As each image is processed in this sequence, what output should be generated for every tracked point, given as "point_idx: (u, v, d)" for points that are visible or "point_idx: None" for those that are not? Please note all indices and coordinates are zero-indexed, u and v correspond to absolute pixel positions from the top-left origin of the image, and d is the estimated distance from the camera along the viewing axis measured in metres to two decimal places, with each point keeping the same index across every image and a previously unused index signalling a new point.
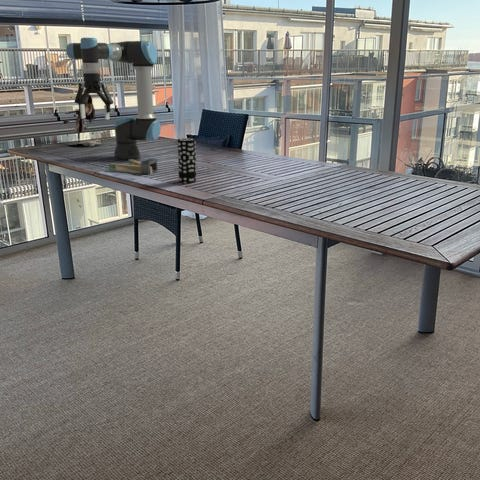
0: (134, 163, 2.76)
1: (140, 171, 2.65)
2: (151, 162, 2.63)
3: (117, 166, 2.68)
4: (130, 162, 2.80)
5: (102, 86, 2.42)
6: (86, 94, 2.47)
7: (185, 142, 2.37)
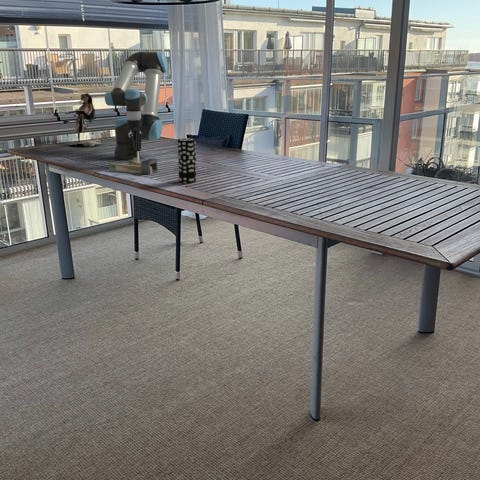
0: (134, 163, 2.76)
1: (140, 171, 2.65)
2: (151, 162, 2.63)
3: (117, 166, 2.68)
4: (130, 162, 2.80)
5: None
6: None
7: (185, 142, 2.37)
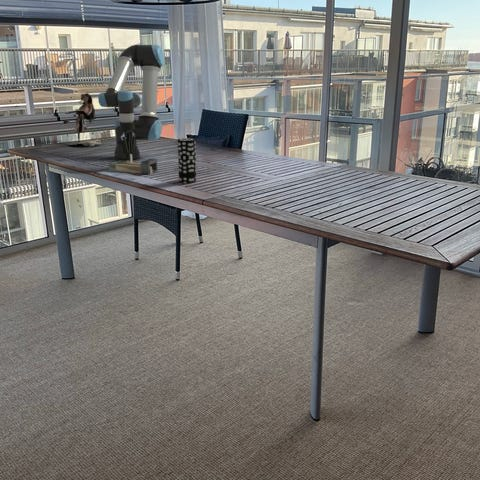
0: (127, 164, 2.73)
1: (140, 171, 2.65)
2: (151, 162, 2.63)
3: (117, 166, 2.68)
4: None
5: None
6: None
7: (185, 142, 2.37)
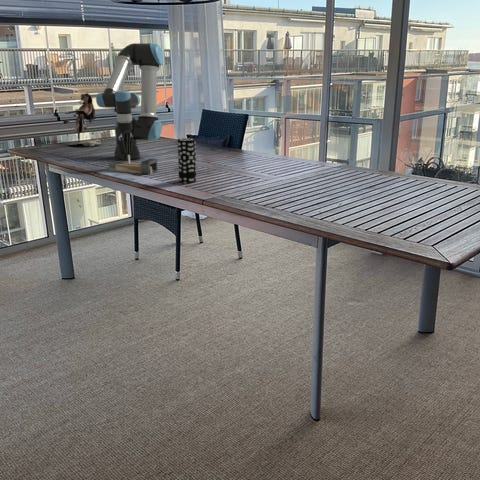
0: None
1: (140, 171, 2.65)
2: (151, 162, 2.63)
3: (117, 166, 2.68)
4: None
5: None
6: None
7: (185, 142, 2.37)
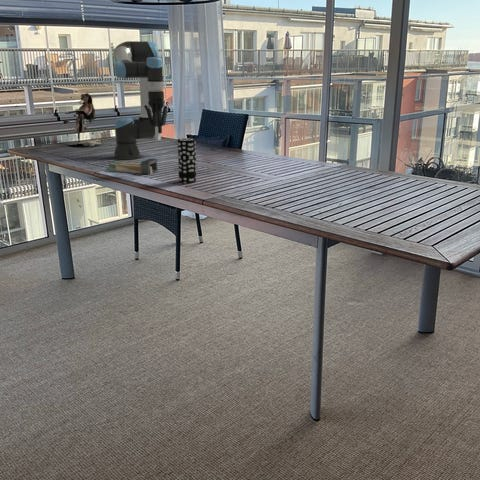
0: None
1: (140, 171, 2.65)
2: (151, 162, 2.63)
3: (117, 166, 2.68)
4: None
5: (165, 108, 2.51)
6: (155, 113, 2.55)
7: (185, 142, 2.37)
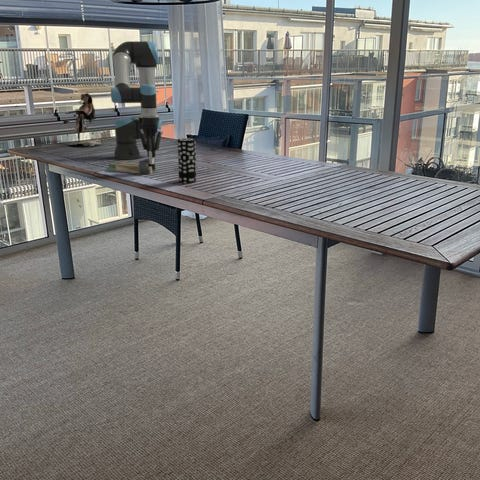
0: None
1: None
2: None
3: (117, 166, 2.68)
4: None
5: (158, 133, 2.57)
6: (149, 138, 2.60)
7: (185, 142, 2.37)
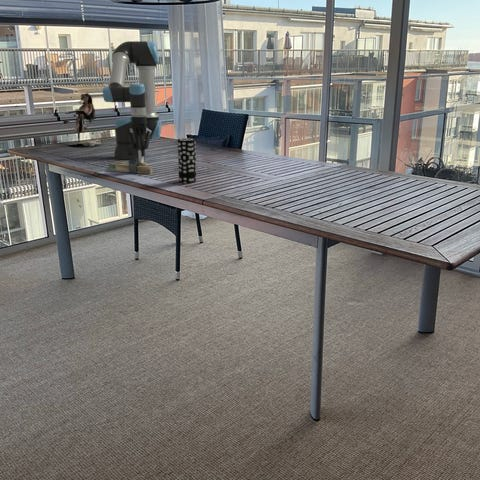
0: None
1: (140, 171, 2.65)
2: None
3: (117, 166, 2.68)
4: None
5: (147, 133, 2.59)
6: (138, 137, 2.62)
7: (185, 142, 2.37)
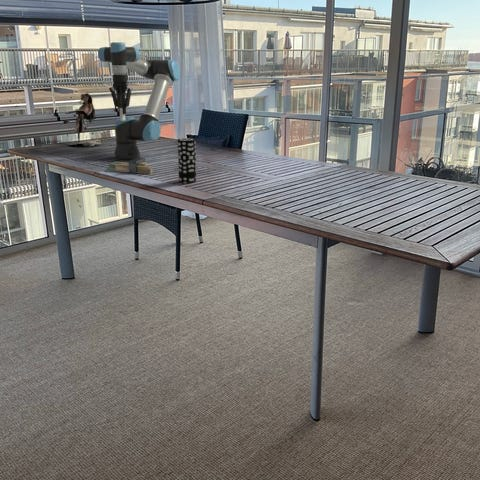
0: None
1: (140, 171, 2.65)
2: (139, 161, 2.65)
3: (117, 166, 2.68)
4: None
5: (128, 90, 2.68)
6: (119, 95, 2.71)
7: (185, 142, 2.37)
